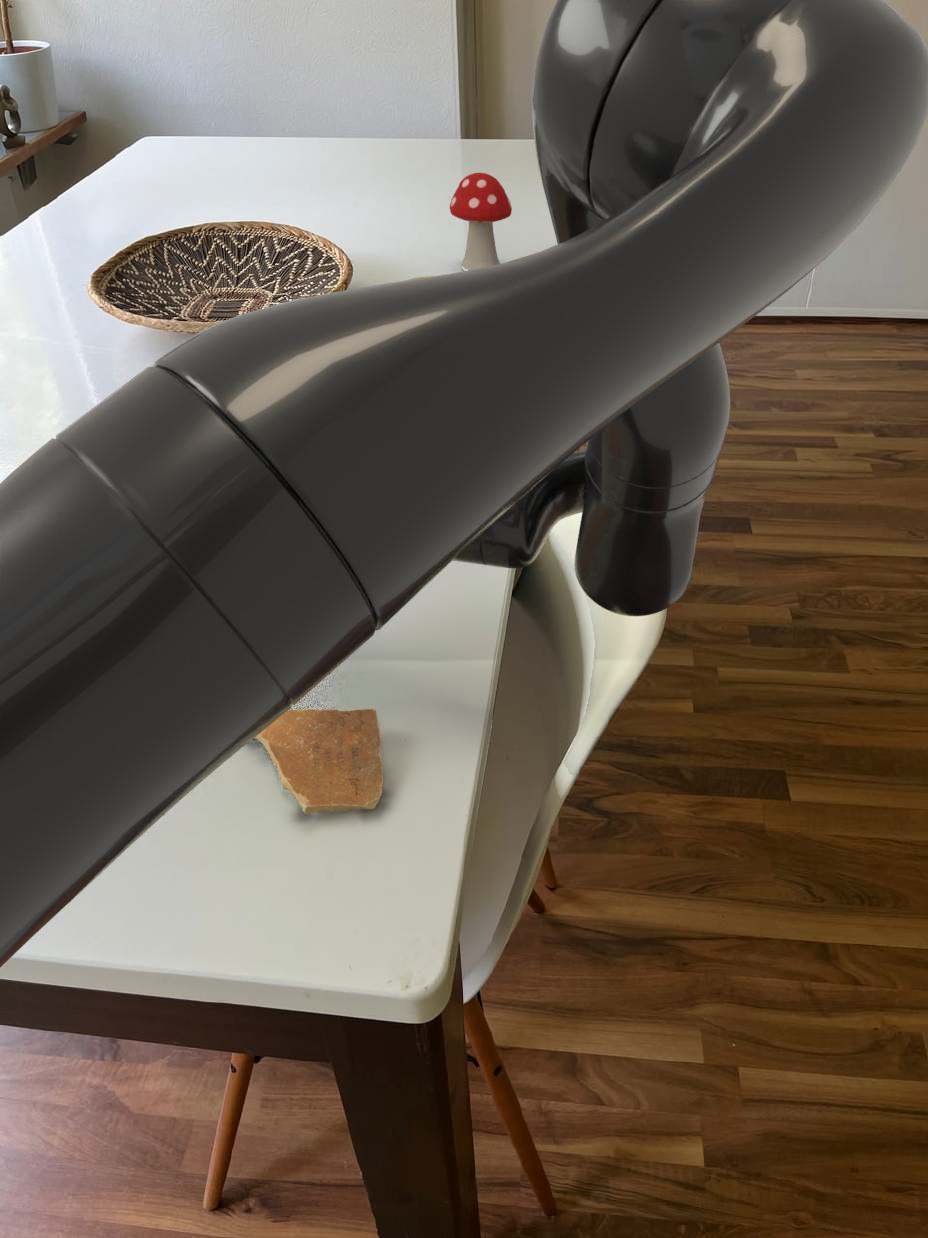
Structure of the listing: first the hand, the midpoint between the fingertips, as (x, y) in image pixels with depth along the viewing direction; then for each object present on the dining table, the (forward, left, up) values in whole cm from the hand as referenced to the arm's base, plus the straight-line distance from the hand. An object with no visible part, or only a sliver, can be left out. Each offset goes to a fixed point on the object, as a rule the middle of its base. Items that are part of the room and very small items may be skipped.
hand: (160, 469), depth 69 cm
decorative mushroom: (+92, +33, -19) cm, 99 cm away
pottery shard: (-4, -15, -19) cm, 24 cm away
